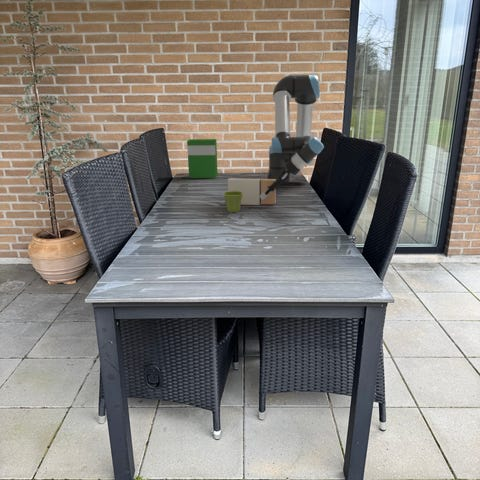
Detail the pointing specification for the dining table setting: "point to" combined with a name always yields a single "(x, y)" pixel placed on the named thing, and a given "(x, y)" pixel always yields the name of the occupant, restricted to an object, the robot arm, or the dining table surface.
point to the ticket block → (246, 190)
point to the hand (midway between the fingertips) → (261, 197)
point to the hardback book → (202, 158)
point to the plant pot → (233, 200)
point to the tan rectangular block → (272, 196)
